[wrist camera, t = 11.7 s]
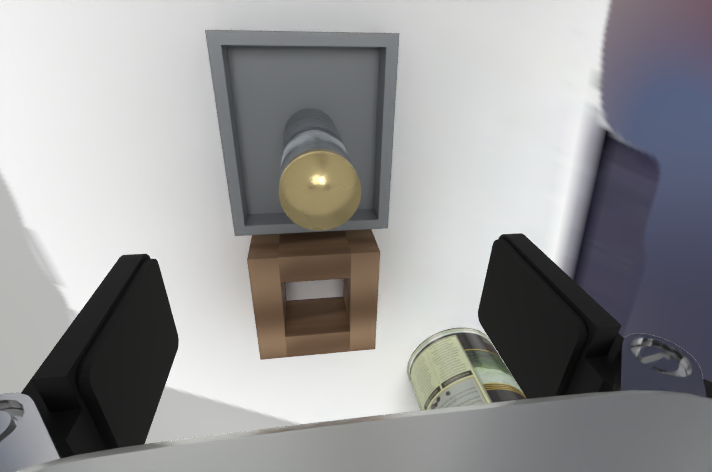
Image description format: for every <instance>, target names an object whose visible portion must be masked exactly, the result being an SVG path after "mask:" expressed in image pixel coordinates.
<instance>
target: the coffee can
mask: <svg viewBox="0 0 712 472" xmlns="http://www.w3.org/2000/svg"><path fill="white" fill-rule="evenodd" d="M408 376H409V379H410V381H411V383H412V386H413V389H414V392H415V395H416V397H417V400H418V403H419V406H420V409H421V411H422V410H431V409H440V408H449V407H458V406H467V405H476V404H485V403H495V402H504V401H513V400H522V399H527V398H526V397H525V395H524V394H523V392H522V390H521V389H520V387H519V386H518V384H517V383H516V381H515V380H514V378H513V377H512V375H511V373H510V372H509V370H508V369H507V367H506V365H505V364H504V362H503V361H502V359H501V358H500V356H499V354H498V353H497V351H496V350H495V348H494V346H493V344H492V342H491V341H490V339H489V338H488V337H487V336H486V335H484V334H483V333H481V332H479V331H477V330H473V329H468V328H455V329H449V330H446V331H442V332H440V333H437V334H435V335H433V336H432V337H430V338H428V339H427V340H425V341H424V342H423V343H422V344H420V345H419V346H418V348H417V349H416V350H415V352H414V353H413V354H412V356H411V358H410V361H409V364H408Z"/></svg>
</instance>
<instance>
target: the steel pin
mask: <svg viewBox="0 0 712 472" xmlns="http://www.w3.org/2000/svg"><path fill="white" fill-rule="evenodd" d="M279 199H280V203H281V206H282V208H283V210H284V212H285V213H286V215H287V216H288V217H289V218H290V219H291V220H292V221H293V222H294V223H296V224H297V225H299V226H301V227H303V228H306V229H310V230H316V231H323V230H329V229H333V228H336V227H338V226H340V225H342V224H344V223H345V222H346V221H348V220H349V219H350V218H351V217H352V216H353V214H354V213H355V212H356V210H357V208H358V206H359V203H360V199H361V183H360V180H359V177H358V175H357V173H356V171H355V168H354V166H353V164H352V162H351V160H350V157H349V155H348V153H347V151H346V148H345V146H344V144H343V142H342V140H341V137H340V135H339V133H338V131H337V129H336V126H335V124H334V122H333V121H332V119H331V118H330V117H329V116H328V115H327V114H326V113H324V112H322V111H320V110H317V109H312V108H308V109H302V110H300V111H298V112H296V113H294V114H293V115H292V116H291V117H290V118H289V119H288V121H287V123H286V125H285V129H284V137H283V149H282V160H281V171H280V183H279Z"/></svg>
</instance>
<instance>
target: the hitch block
mask: <svg viewBox="0 0 712 472" xmlns="http://www.w3.org/2000/svg"><path fill="white" fill-rule="evenodd" d="M379 260H380V251H379V248H378V246H377V243H376V241H375V238H374V236H373V233H372V231H371V229H361V230H342V231H322V232H302V233H283V234H263V235H252V239H251V244H250V249H249V253H248V258H247V261H248V269H249V276H250V284H251V291H252V299H253V306H254V314H255V321H256V329H257V336H258V344H259V352H260V359H272V358H283V357H293V356H304V355H315V354H326V353H336V352H347V351H358V350H369V349H375V339H376V319H377V299H378V280H379ZM329 279H344V297H335V298H321V299H308V300H294V301H286V292H285V282H299V281H314V280H329Z"/></svg>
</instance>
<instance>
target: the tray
mask: <svg viewBox="0 0 712 472" xmlns="http://www.w3.org/2000/svg"><path fill="white" fill-rule="evenodd" d="M205 32H206V39H207V46H208V52H209V59H210V66H211V73H212V80H213V87H214V94H215V101H216V108H217V114H218V121H219V128H220V135H221V142H222V149H223V156H224V163H225V170H226V176H227V183H228V190H229V197H230V204H231V211H232V218H233V225H234V232H235V236H243V235H263V234H283V233H302V232H322V231H316V230H310V229H306V228H303V227H301V226H299V225H297V224H296V223H294V222H293V221H292V220H291V219H290V218H289V217H288V216H287V215H286V213H285V212H284V210H283V208H282V206H281V203H280V199H279V183H280V171H281V160H282V149H283V137H284V129H285V125H286V123H287V121H288V119H289V118H290V117H291V116H292V115H293V114H294V113H296V112H298V111H300V110H302V109H308V108H312V109H317V110H320V111H322V112H324V113H326V114H327V115H328V116H329V117H330V118H331V119H332V121H333V122H334V124H335V126H336V129H337V131H338V133H339V135H340V137H341V140H342V142H343V144H344V146H345V148H346V151H347V153H348V155H349V157H350V160H351V162H352V164H353V166H354V168H355V171H356V173H357V175H358V177H359V180H360V183H361V199H360V203H359V206H358V208H357V210H356V212H355V213H354V214H353V216H352V217H351V218H350V219H349V220H348V221H346V222H345V223H344V224H342V225H340V226H338V227H336V228H333V229H329V230H323V231H342V230H361V229H381V228H388V215H389V198H390V181H391V164H392V147H393V130H394V113H395V96H396V80H397V63H398V46H399V33H347V32H291V31H235V30H205Z"/></svg>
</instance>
